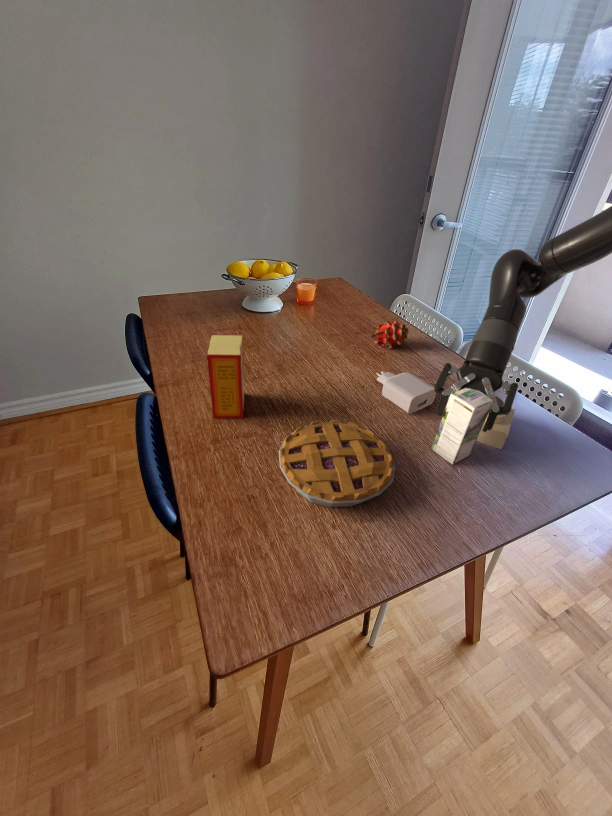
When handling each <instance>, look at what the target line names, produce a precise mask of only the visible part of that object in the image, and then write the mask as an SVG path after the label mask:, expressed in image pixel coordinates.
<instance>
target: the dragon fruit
mask: <svg viewBox="0 0 612 816" xmlns="http://www.w3.org/2000/svg"><path fill="white" fill-rule="evenodd" d="M408 334H409V328H408V327H406V324H405V323H399V322H398V320H396V319H394V320H393V322H392V321H391V320H386V321H385V322H384V323H380V324H378V326H377V328H376V329H375V331H374V332H373V334H372V335H371V339H375V340H374V342H373V343H374V344H375V345H378V346H382V347H384V346H385V347H387V346H388V349H389V350H391V349H393V348H395V347H398V346H402V345H403V344H405V343H406V342H407V341H405V340H406V339H408Z"/></svg>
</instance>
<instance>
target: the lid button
mask: <svg viewBox="0 0 612 816" xmlns="http://www.w3.org/2000/svg"><path fill="white" fill-rule="evenodd" d="M495 397H496V401H497V404H498V406H499V407H503V405H504V403H505V401H504V400H503V399H502V398H500V397H498V396H496V395H495ZM490 412H491V411H490V410H489V413H490Z"/></svg>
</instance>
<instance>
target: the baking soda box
mask: <svg viewBox="0 0 612 816" xmlns="http://www.w3.org/2000/svg"><path fill="white" fill-rule="evenodd" d="M243 342H244V341H243V334H211V337H210V341H209V345H208V350H207V354H206V359H207V369H208V378H209V379H208V381H209V388H210V399H211V408H212V409H211V410H212V418H213V419H243V418H244V407H245V371H244V370H245V369H244V368H245V367H244V344H243Z"/></svg>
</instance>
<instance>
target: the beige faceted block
mask: <svg viewBox="0 0 612 816" xmlns="http://www.w3.org/2000/svg"><path fill="white" fill-rule="evenodd" d="M503 406H504V405H503ZM515 413H516V409H515V408H514V407H513V408H511V411H510V412H509V414H508V415H498V416H497V417H496V420H495V422H494V425H493V427H492V429H491V430H487V431H486V432H483V431H482V430H483V428H484V425H485V423H486V420H487V418H488V415H489V413H488V415H487V417H486V420H485V422H484V424H483V427H482V429H481V431H480V433H479V436H478V438H477V440H476V442H479V443H481V444H484V445H487V446H490V447H492V448H496V449H498V450H502V449H503V448H504V445H505V444H506V441H507V438H508V436H509V433H510V430H511V426H512V422H513V419H514V416H515Z"/></svg>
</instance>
